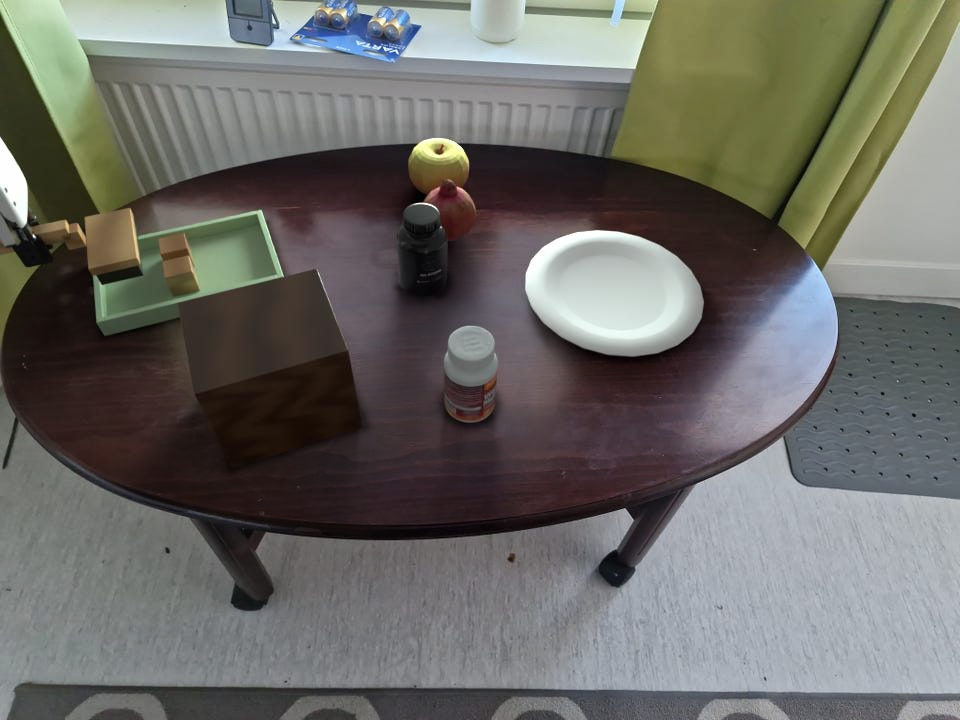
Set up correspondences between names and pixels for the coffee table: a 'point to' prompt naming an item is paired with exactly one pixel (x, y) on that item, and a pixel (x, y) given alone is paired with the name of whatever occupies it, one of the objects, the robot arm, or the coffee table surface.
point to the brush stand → (270, 366)
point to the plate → (614, 293)
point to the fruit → (453, 209)
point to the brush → (99, 243)
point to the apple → (437, 164)
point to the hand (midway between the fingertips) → (39, 256)
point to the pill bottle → (470, 374)
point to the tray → (218, 264)
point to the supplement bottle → (422, 251)
